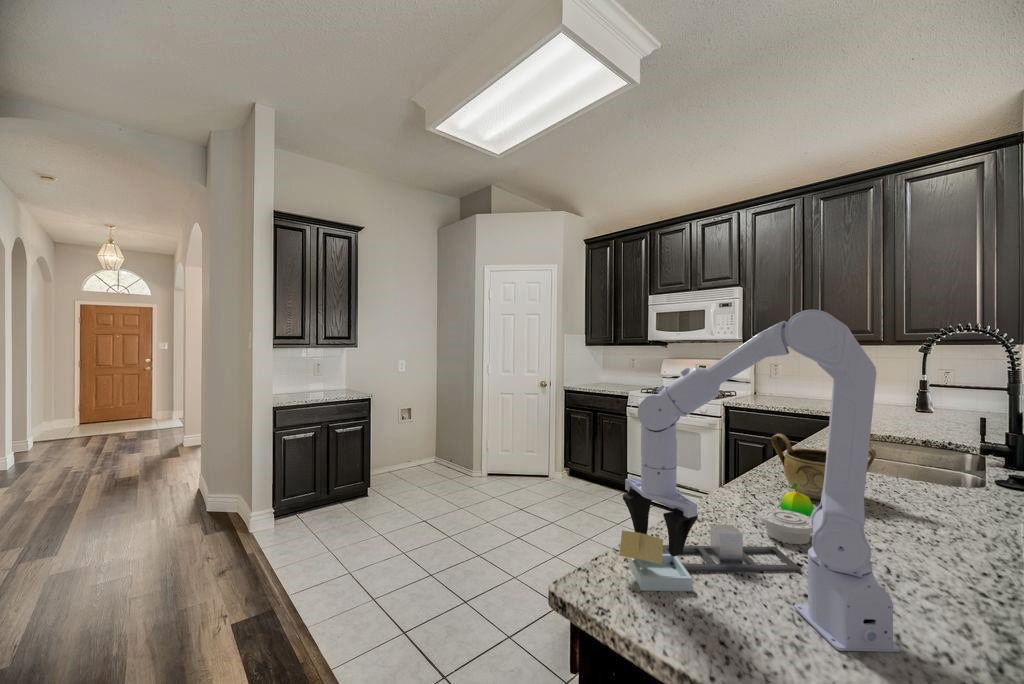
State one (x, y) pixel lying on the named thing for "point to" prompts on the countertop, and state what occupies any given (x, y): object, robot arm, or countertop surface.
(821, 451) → the ceramic bowl
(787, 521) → the mechanical component
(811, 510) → the apple
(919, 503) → the countertop surface
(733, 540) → the grey block
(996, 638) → the countertop surface
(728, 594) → the countertop surface
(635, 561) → the parts tray
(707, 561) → the rail
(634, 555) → the tan wooden post
